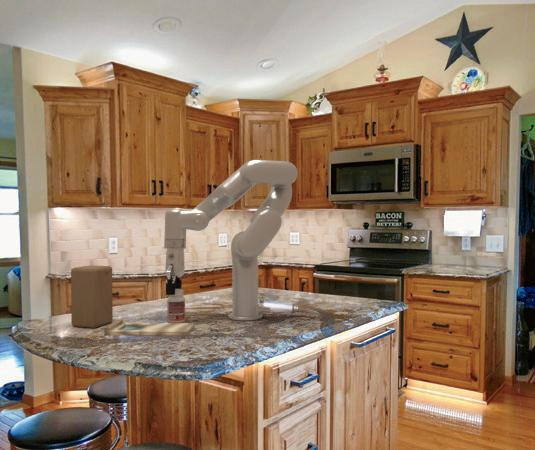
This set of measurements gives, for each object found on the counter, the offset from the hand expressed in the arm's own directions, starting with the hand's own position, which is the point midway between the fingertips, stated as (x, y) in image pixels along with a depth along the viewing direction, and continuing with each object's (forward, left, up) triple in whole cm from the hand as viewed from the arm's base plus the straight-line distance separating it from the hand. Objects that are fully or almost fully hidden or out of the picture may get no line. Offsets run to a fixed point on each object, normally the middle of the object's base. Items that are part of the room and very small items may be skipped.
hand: (173, 292), depth 161 cm
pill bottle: (-1, 0, -11) cm, 10 cm away
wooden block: (+27, +5, -11) cm, 30 cm away
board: (+4, +14, -10) cm, 18 cm away
